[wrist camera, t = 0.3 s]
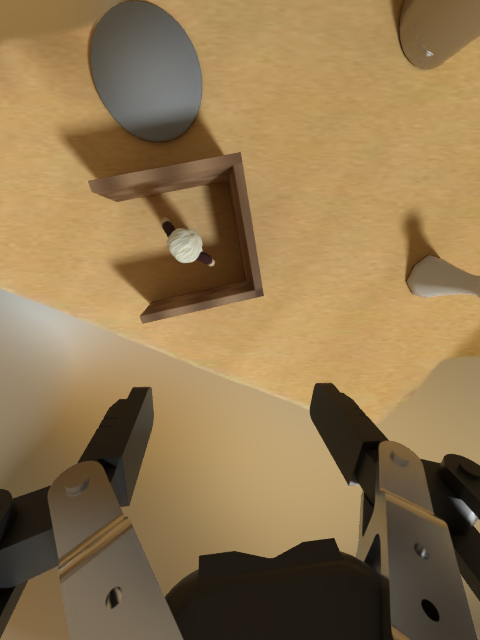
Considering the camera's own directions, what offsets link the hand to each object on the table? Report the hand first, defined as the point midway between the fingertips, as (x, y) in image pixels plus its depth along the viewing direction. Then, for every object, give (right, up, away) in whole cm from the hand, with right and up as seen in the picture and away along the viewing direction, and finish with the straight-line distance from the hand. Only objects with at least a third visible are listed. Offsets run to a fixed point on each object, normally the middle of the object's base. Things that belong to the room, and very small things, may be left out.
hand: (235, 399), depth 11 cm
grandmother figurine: (-7, +15, +22) cm, 28 cm away
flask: (+33, +12, +29) cm, 46 cm away
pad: (-10, +32, +15) cm, 37 cm away
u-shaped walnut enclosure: (-7, +15, +22) cm, 27 cm away
